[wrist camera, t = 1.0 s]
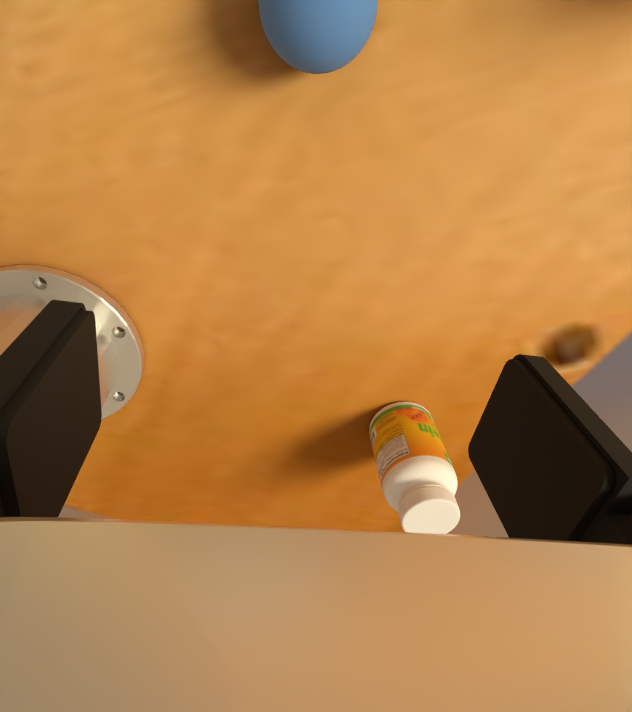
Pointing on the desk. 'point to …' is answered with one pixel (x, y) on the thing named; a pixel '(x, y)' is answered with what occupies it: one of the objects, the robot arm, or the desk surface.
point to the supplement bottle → (414, 468)
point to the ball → (317, 31)
